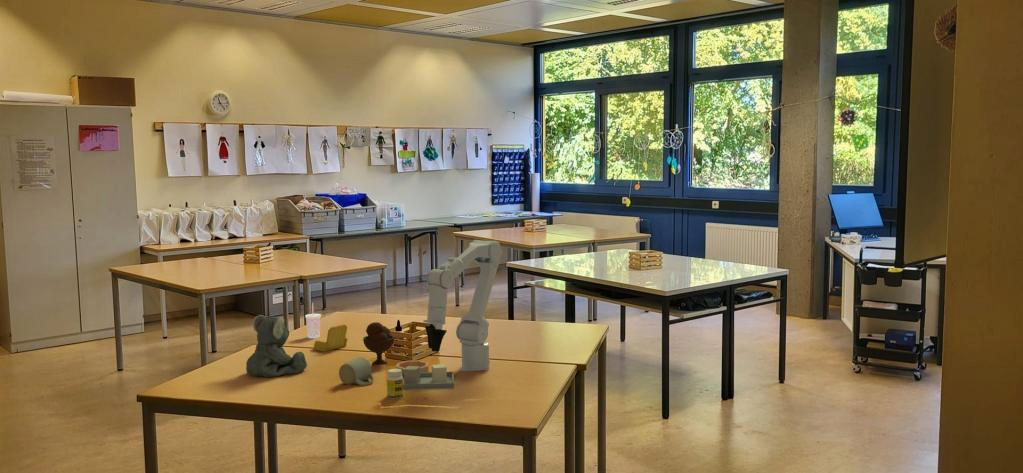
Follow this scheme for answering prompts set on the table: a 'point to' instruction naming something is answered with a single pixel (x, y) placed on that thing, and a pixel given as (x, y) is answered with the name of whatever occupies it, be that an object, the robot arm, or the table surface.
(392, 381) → the supplement bottle
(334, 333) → the yellow bent piece
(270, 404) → the table surface
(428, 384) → the parts tray
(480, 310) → the robot arm
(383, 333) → the ice cream bowl
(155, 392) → the table surface
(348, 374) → the ceramic mug
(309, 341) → the table surface
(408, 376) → the beige square block
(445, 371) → the sage green cube
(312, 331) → the beverage cup
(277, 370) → the koala plush
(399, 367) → the bowl
